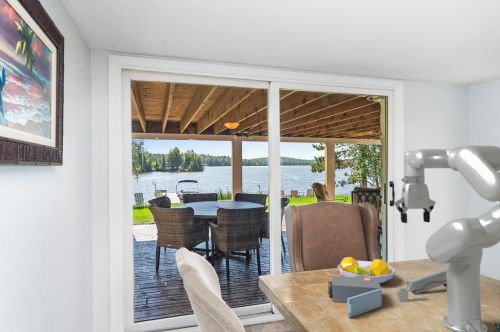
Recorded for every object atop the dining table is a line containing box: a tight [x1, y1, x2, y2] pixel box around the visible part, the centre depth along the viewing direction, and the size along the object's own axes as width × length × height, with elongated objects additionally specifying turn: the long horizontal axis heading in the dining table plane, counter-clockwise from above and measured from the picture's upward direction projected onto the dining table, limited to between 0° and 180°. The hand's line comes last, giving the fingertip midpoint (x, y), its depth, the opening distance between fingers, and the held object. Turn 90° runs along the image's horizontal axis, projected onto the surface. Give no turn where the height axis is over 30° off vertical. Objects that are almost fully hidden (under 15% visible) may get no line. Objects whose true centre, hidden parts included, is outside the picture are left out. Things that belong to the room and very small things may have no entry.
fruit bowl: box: [337, 256, 396, 284], centre depth 156 cm, size 28×27×11 cm
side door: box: [346, 288, 383, 318], centre depth 119 cm, size 2×19×7 cm, turn 121°
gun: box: [406, 267, 448, 295], centre depth 139 cm, size 2×25×10 cm, turn 99°
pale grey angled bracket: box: [396, 279, 414, 303], centre depth 130 cm, size 7×2×8 cm, turn 100°
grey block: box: [327, 275, 382, 304], centre depth 133 cm, size 12×21×8 cm, turn 75°
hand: (415, 222), depth 130 cm, fingers open, 9 cm apart
